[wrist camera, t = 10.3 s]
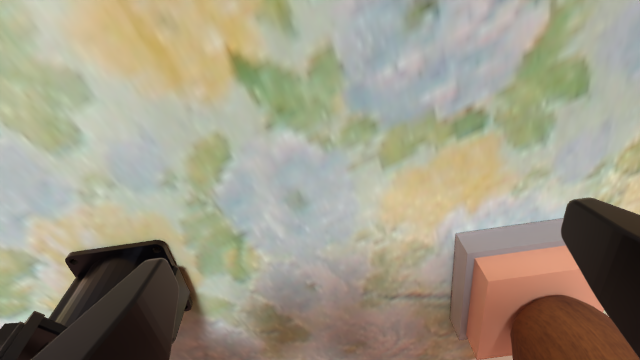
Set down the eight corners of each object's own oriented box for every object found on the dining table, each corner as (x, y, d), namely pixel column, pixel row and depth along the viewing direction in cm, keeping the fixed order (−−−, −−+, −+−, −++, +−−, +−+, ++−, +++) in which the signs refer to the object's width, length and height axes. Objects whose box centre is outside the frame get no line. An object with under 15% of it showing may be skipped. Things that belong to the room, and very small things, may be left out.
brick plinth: (449, 318, 30) (469, 364, 27) (456, 233, 26) (480, 276, 22) (561, 303, 30) (595, 348, 27) (588, 214, 25) (633, 255, 22)
